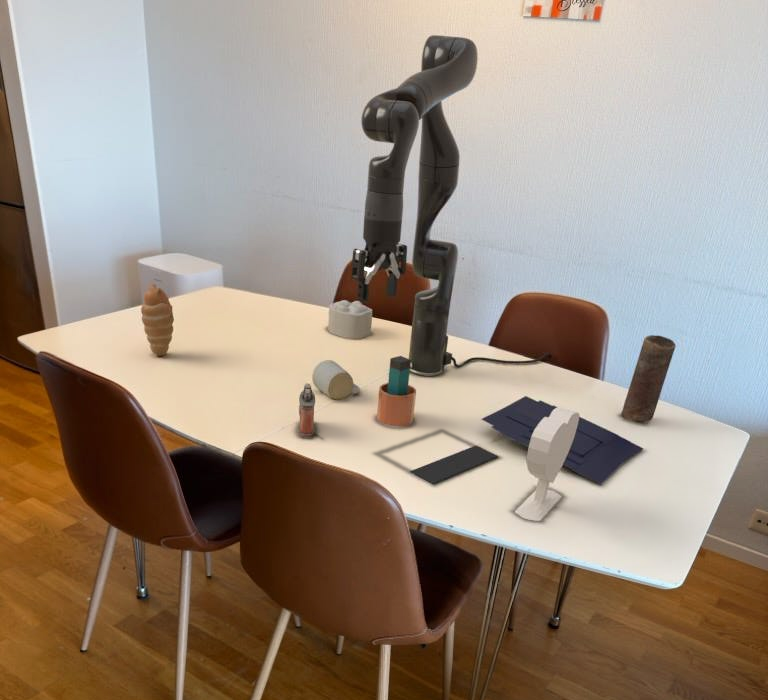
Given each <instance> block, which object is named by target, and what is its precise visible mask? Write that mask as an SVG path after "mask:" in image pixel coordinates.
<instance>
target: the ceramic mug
mask: <svg viewBox="0 0 768 700" xmlns="http://www.w3.org/2000/svg"><path fill="white" fill-rule="evenodd" d="M311 376H312V377H311V379H312V383H313V386H314V387H315V388H316V389H318V390H319V391H320V392H322V393H323V394H325V395H326V396H327V397H329V398H331V399H333V400H337V401H338V400H343V399H346V398H347V397H348V396H349V395H350V394H354V395H357V394H358V393H359V392H360V386H358V385H357V384H355V383H354V380H353V379H354V378H353V377H352V375H351V374H350V373H349V372H348V371H347V370H346V369H344V367H342V366H341V365H340V364H339V363H337V362H336V361H334V360H333V359H325V360H322V361H320V362H319V363H318V364H316V366H315V368H314V369H313V372H312V375H311Z"/></svg>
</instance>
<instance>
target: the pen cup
mask: <svg viewBox="0 0 768 700" xmlns="http://www.w3.org/2000/svg"><path fill="white" fill-rule="evenodd" d="M387 391H388V382H385V383H382V384H380V385H379V388H378V399H377V413H376V419H377V421H379V423H381V424H385V425H387V426H392V427H404V426H409V425H411V424H412V423H413V421H414V415H415V407H416V397H417V389H416V388H415V387H414V386H412V385H410V384H408V392H407V395H405V396H397V395H391V394H388V393H387Z"/></svg>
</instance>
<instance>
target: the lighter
mask: <svg viewBox="0 0 768 700" xmlns="http://www.w3.org/2000/svg"><path fill="white" fill-rule="evenodd" d="M298 403H299V405H298V415H299V423H298V435H299V436H300V438H303V439H311V438H313V437H314V435H315V423H314V422H315V421H314V420H315V405H316V395H315V392H314V391H313V389H312V385H311V383H306V382H305V384H304V385H303V390H302V391H301V392H300V394H299V397H298Z"/></svg>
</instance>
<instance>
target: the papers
mask: <svg viewBox="0 0 768 700" xmlns="http://www.w3.org/2000/svg"><path fill="white" fill-rule="evenodd" d="M557 407H558V406H556V405H554V404H553V405H552V404H550V403H548V402H545V401H543V400H540V399H539V400H535V399H533V398H531V397H529V396H528V395H524V396H523V397H521V398H519V399H518V400H516V401H514V402H512V403H510V404H508V405H506V406H505V407H502V408H501V409H498V410H496V411H494V412H493V413H491V414H489V415H486V416H484V417H482V418H481V420H482V421H483V422H486V423H487V424H489V425H491V428H492V429H494V430H495V431H498V432H499V433H501V434H502V435H503V436H505V437H507V438H509V439H510V440H512V441H514V442H515V443H519V444H522V445H523V446H525V447H527V448H529V444H530V440H531V436H532V434H533V432H534V430H535V428H536V427H537V425H538V424H539V423H540V421H541V420H542V419H543V418H544V417H548V418H549V416H550V414H551V413H552V411H553V410H554V409H555V408H557ZM642 450H644V448H643V447H642V446H640V445H638V444H636V443H633V442H632V441H630V440H628V439H627V438H624V437H622V436H620V435H619V434H618V433H615V432H612V431H610V430H608V429H606V428H604V427H602V426H600V425H598V424H597V423H594V422H592V421H590V420H587V419H586V418H583V417H581V416H579V421H578V426H577V429H576V433H575V436H574V439H573V442H572V445H571V447H570V450H569V452H568V454H567V457H566V459H565V461H564V463H563V465H562V466H565V467H566V468H569V470H571V471H573V472H575V473H577V474H579V475H580V476H582V477H584V478H587V479H588V480H591V481H594V482H595V483H597V484H599V485H602V484H603V482H605V481H606V480H607V479H608V478H609V477H610V476H611V475H612V474H613V473H614V472H615V471H616V470H617V469H618V468H619V467H620V466H621V465H622V464H624V463H626V462H627V461H628V460H629V459H632V458H633V457H634V456H636V455H637V454H638V453H641V451H642Z"/></svg>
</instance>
